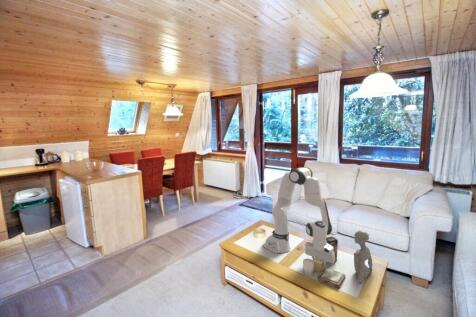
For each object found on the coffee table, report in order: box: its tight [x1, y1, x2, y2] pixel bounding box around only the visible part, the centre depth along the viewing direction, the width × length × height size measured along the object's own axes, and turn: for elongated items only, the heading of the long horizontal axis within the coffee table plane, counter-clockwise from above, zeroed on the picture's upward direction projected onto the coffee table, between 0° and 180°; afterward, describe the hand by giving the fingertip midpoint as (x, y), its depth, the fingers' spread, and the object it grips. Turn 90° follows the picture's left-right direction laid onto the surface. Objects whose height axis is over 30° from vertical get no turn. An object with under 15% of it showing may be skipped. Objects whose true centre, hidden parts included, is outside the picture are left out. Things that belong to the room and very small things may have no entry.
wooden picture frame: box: [317, 266, 346, 289], centre depth 156 cm, size 13×13×3 cm
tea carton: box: [314, 257, 326, 273], centre depth 167 cm, size 5×7×8 cm
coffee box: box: [326, 235, 339, 262], centre depth 177 cm, size 9×6×16 cm
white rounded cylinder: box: [302, 258, 315, 277], centre depth 163 cm, size 7×7×8 cm
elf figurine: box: [353, 230, 373, 285], centre depth 159 cm, size 22×10×30 cm, turn 135°
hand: (319, 263), depth 168 cm, fingers closed on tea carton, 5 cm apart
